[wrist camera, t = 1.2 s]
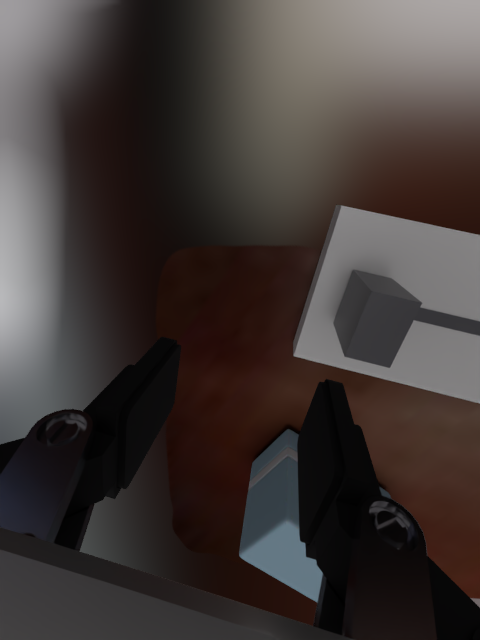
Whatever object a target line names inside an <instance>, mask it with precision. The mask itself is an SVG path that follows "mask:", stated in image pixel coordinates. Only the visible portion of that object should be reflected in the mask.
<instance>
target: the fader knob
mask: <svg viewBox="0 0 480 640" xmlns="http://www.w3.org/2000/svg"><path fill="white" fill-rule="evenodd" d="M421 305H422V302H421V301H419V300H418V299H417V298H416V297H414V296H413V295H412V294H411V293H409V292H408V291H407V290H406V289H405V288H403V287H402V286H401V285H400V284H398V283H397V282H396V281H395V280H393V279H392V278H388V277H384V276H379V275H375V274H371V273H366V272H362V271H358V270H353V271H352V273H351V276H350V279H349V281H348V284H347V287H346V290H345V292H344V295H343V298H342V300H341V303H340V306H339V309H338V311H337V314H336V317H335V319H334V322H333V324H334V327H335V330H336V333H337V336H338V339H339V342H340V345H341V348H342V351H343V354H344V357H347V358H351V359H355V360H359V361H363V362H367V363H371V364H375V365H379V366H383V367H387V368H390V367H391V365H392V363H393V361H394V359H395V357H396V355H397V353H398V351H399V349H400V347H401V345H402V343H403V341H404V339H405V337H406V335H407V333H408V331H409V329H410V327H411V325H412V323H413V321H414V319H415V317H416V315H417V313H418V311H419V309H420V307H421Z"/></svg>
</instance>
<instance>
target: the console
mask: <svg viewBox="0 0 480 640" xmlns="http://www.w3.org/2000/svg"><path fill="white" fill-rule="evenodd" d="M353 270H358V271H362V272H366V273H371V274H375V275H379V276H384V277H388V278H392V279H393V280H395V281H396V282H397V283H398V284H400V285H401V286H402V287H403V288H405V289H406V290H407V291H408V292H409V293H411V294H412V295H413V296H414V297H416V298H417V299H418V300H419V301H421V302H422V305H421V307H420V309H419V311H418V313H417V315H416V317H415V319H414V321H413V323H412V325H411V327H410V329H409V331H408V333H407V335H406V337H405V339H404V341H403V343H402V345H401V347H400V349H399V351H398V353H397V355H396V357H395V359H394V361H393V363H392V365H391V367H390V368H387V367H383V366H379V365H375V364H371V363H367V362H363V361H359V360H355V359H351V358H347V357H344V354H343V351H342V348H341V345H340V342H339V339H338V336H337V333H336V330H335V327H334V324H333V322H334V319H335V317H336V314H337V311H338V309H339V306H340V303H341V300H342V298H343V295H344V292H345V290H346V287H347V284H348V281H349V279H350V276H351V273H352V271H353ZM293 356H295V357H299V358H303V359H307V360H311V361H315V362H319V363H323V364H327V365H331V366H334V367H338V368H342V369H346V370H350V371H354V372H358V373H362V374H366V375H370V376H374V377H378V378H382V379H386V380H390V381H393V382H397V383H401V384H405V385H409V386H413V387H417V388H421V389H425V390H429V391H433V392H437V393H441V394H445V395H449V396H452V397H456V398H460V399H464V400H468V401H472V402H476V403H480V235H477V234H472V233H467V232H463V231H458V230H453V229H449V228H444V227H439V226H435V225H429V224H425V223H421V222H416V221H411V220H407V219H402V218H397V217H392V216H388V215H383V214H379V213H374V212H369V211H365V210H360V209H355V208H351V207H346V206H341V205H336V207H335V210H334V214H333V217H332V220H331V223H330V226H329V230H328V233H327V236H326V239H325V242H324V246H323V249H322V252H321V255H320V258H319V261H318V265H317V268H316V271H315V274H314V277H313V281H312V284H311V287H310V290H309V293H308V297H307V300H306V303H305V306H304V309H303V313H302V316H301V319H300V322H299V325H298V329H297V332H296V335H295V338H294V341H293Z"/></svg>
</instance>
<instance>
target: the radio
mask: <svg viewBox="0 0 480 640" xmlns="http://www.w3.org/2000/svg"><path fill="white" fill-rule="evenodd" d="M298 436H299V435H298V434H297V433H295V432H293V431H292V430H290V429H287V430H286V431H285V432H284V433H283V434H282V435H280V436H279V437H278V438H277V439H276V440H275V441H274V442H273V443H272V444H271V445H270V446H269V447H268V448H267V449H266V450H265V451H264V452H263V453H262V454H261V455H260V456H259V457H257V458H256V459H255V460H254V462H253V463H252V469H251V476H250V483H249V491H248V496H247V503H246V510H245V517H244V524H243V530H242V537H241V544H240V552H239V555H240V557H241V558H242V559H244V560H245V561H247V562H249V563H250V564H252V565H254V566H255V567H257V568H259V569H261V570H262V571H264V572H266V573H267V574H269V575H271V576H273V577H275V578H276V579H278V580H280V581H281V582H283V583H285V584H286V585H288V586H290V587H292V588H293V589H295V590H297V591H299V592H300V593H302V594H304V595H305V596H307V597H309V598H311V599H312V600H314V601H316V602H318V597H319V592H320V586H321V581H322V575H323V573H322V571H321V570H320V569H319V567H318V566H317V562H316V560H315V559H311V558H308V557H306V547H305V543H303V542H301V541H300V536H299V498H298V457H297V441H298ZM379 488H380V491H381V494H382V496H385V497H388V498H390V499H391V496H390V494H389V493H388V492H387V491H385V490H384V489H382V488H381V487H379Z"/></svg>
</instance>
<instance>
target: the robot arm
mask: <svg viewBox="0 0 480 640" xmlns="http://www.w3.org/2000/svg"><path fill="white" fill-rule="evenodd" d="M180 352H181V346H180V345H177V341H176V340H173V339H169V338H165V337H161V338H160V339H159V340H158V341H157V342H156V343H155V344H154V345H153V346H152V347H151V348H150V349H149V350H148V352H147V353H146V354H145V355H144V356H143V357H142V358H141V359H140V360H139V361H138V362H137V363H136V364H135V365H128V366H127V367H125V368H124V369H123V370H122V371H121V372H120V373H119V374H118V376H117V377H116V378H115V379H114V380H113V381H112V382H111V383H110V384H109V385H108V386H107V387H106V388H105V389H104V390H103V391H102V392H101V393H100V394H99V395H98V396H97V397H96V398H95V399H94V400H93V401H92V402H91V403H90V404H89V405H88V406H87V407H86V408H85V409H84V410H83V411H81V410H76V409H64V410H60V411H56V412H53V413H51V414H48V415H46V416H44V417H43V418H41V419H40V420H39V421H37V422H36V423H35V425H34V426H33V427H32V428H31V430H30V431H29V433H28V434H27V436H26V437H25V438H22V439H19V440H15V441H11V442H8V443H4V444H1V445H0V640H480V608H479V607H478V606H477V605H476V604H475V603H474V602H473V601H472V600H471V599H470V598H469V597H468V596H467V595H466V594H465V593H464V592H463V591H462V590H461V589H460V588H459V587H458V586H457V585H456V584H455V583H454V582H453V581H452V580H451V579H450V578H449V577H448V576H447V575H446V574H445V573H444V572H443V571H442V570H441V569H440V568H439V567H438V566H437V565H436V564H435V563H434V562H433V561H432V560H431V559H430V558H429V557H428V556H427V549H426V541H425V538H424V534H423V531H422V529H421V528H420V526H419V524H418V522H417V521H416V520H415V518H414V517H413V516H412V515H411V513H410V512H409V511H407V510H406V509H405V508H404V507H403V506H402V505H401V504H399V503H397V502H396V501H394V500H393V499H390V498H388V497H385V496H382V494H381V491H380V488H379V484H378V481H377V478H376V474H375V471H374V468H373V465H372V461H371V458H370V455H369V451H368V448H367V445H366V442H365V438H364V435H363V432H362V429H361V427H360V426H359V425H356V424H354V422H353V419H352V415H351V411H350V408H349V404H348V401H347V397H346V393H345V390H344V386H343V384H342V383H340V382H336V381H332V380H328V379H326V380H325V382H319V384H318V386H317V389H316V391H315V394H314V397H313V399H312V402H311V404H310V407H309V410H308V412H307V415H306V418H305V420H304V423H303V425H302V428H301V431H300V433H299V436H298V441H297V457H298V498H299V536H300V541H301V542H303V543H305V547H306V557H308V558H311V559H315V560H316V562H317V566H318V567H319V569H320V570H321V571H322V573H323V575H322V581H321V586H320V592H319V597H318V602H317V608H316V613H315V619H314V624H313V626H310V625H307V624H304V623H301V622H298V621H295V620H291V619H289V618H286V617H283V616H280V615H277V614H274V613H271V612H267V611H264V610H261V609H258V608H255V607H252V606H249V605H246V604H243V603H240V602H236V601H233V600H230V599H227V598H224V597H221V596H218V595H214V594H212V593H208V592H205V591H202V590H199V589H196V588H193V587H190V586H187V585H183V584H180V583H177V582H174V581H171V580H168V579H165V578H161V577H158V576H155V575H152V574H149V573H146V572H143V571H140V570H136V569H133V568H130V567H127V566H123V565H121V564H117V563H114V562H111V561H108V560H104V559H101V558H98V557H95V556H92V555H89V554H85V553H82V552H79V551H80V548H81V545H82V542H83V539H84V535H85V532H86V529H87V525H88V523H89V520H90V516H91V513H92V510H93V507H94V503H97V502H99V501H101V500H103V499H104V497H105V496H107V497H110V498H114V499H115V498H116V496H117V494H118V493H119V491H120V489H121V488H123V489H126V488H127V487H128V486H129V484H130V483H131V481H132V479H133V477H134V475H135V474H136V472H137V470H138V468H139V467H140V465H141V463H142V461H143V459H144V458H145V456H146V454H147V452H148V451H149V449H150V447H151V445H152V443H153V442H154V440H155V438H156V436H157V435H158V433H159V431H160V429H161V427H162V426H163V424H164V422H165V420H166V419H167V417H168V415H169V413H170V412H171V410H172V407H173V404H174V400H175V392H176V384H177V376H178V368H179V360H180Z"/></svg>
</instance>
